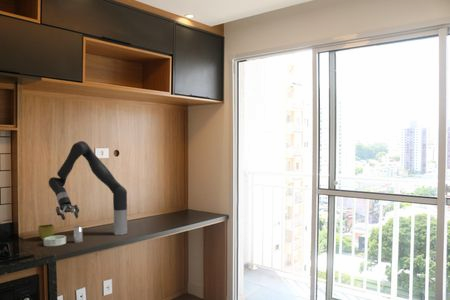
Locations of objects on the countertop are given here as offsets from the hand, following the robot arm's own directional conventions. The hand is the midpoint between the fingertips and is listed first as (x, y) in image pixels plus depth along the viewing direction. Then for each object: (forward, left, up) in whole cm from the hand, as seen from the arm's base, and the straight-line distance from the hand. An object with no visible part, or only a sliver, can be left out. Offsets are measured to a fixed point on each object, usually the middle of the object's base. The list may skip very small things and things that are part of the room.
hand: (70, 218), depth 246 cm
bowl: (+11, -7, -14) cm, 19 cm away
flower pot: (-5, -17, -14) cm, 23 cm away
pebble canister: (+9, +6, -14) cm, 18 cm away
